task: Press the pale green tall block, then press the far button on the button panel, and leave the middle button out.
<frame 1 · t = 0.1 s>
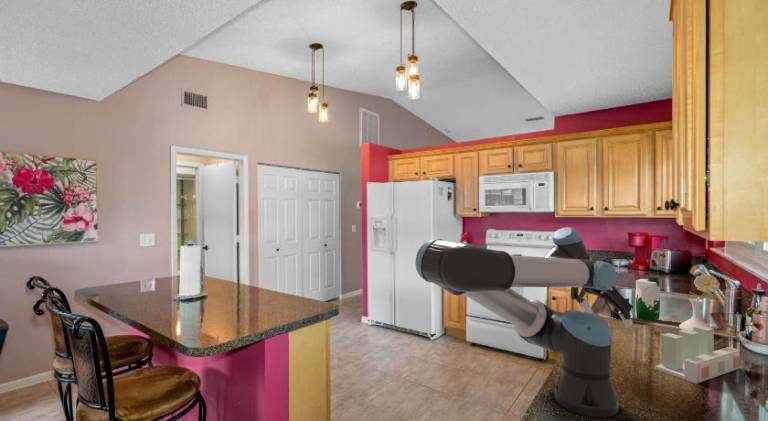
hand: (609, 319, 126), 15 cm above the counter, tool tilted 35°, fingers open, 13 cm apart
pattern card: (720, 376, 118), on the counter
button panel: (713, 373, 120), on the counter
middle button: (688, 346, 126), point 6 cm above the counter, slide at 0.0 cm
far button: (703, 342, 129), point 6 cm above the counter, slide at 0.0 cm
milk carton: (647, 319, 178), on the counter
pale green tall block: (672, 351, 122), point 6 cm above the counter, slide at 0.0 cm
flower in vase: (698, 334, 157), on the counter
coffee mug: (617, 317, 182), on the counter
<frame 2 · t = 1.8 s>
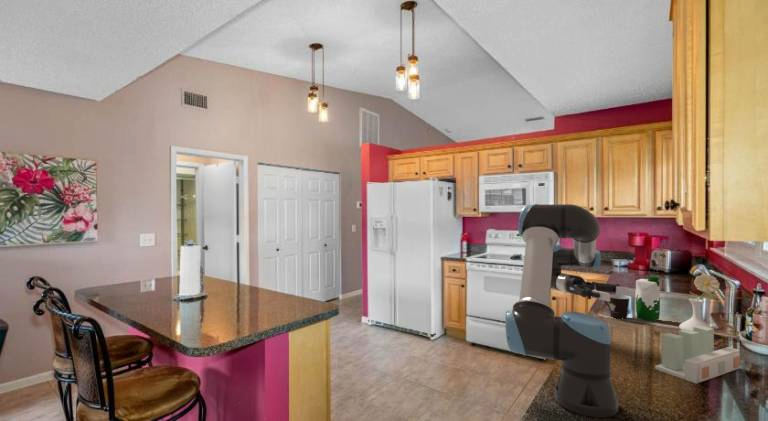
hand: (622, 295, 137), 21 cm above the counter, tool horizontal, fingers open, 13 cm apart
nothing on the counter moved.
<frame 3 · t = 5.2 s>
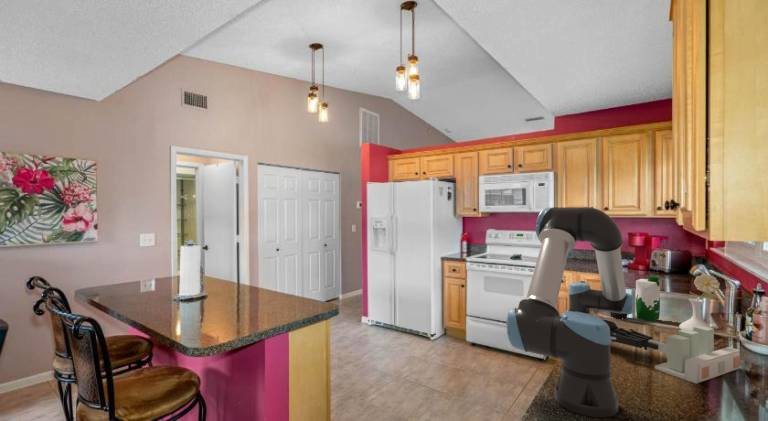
hand: (670, 350, 123), 6 cm above the counter, tool horizontal, fingers closed
pale green tall block: (678, 352, 120), point 6 cm above the counter, slide at 1.7 cm, touching gripper
everything else where it was.
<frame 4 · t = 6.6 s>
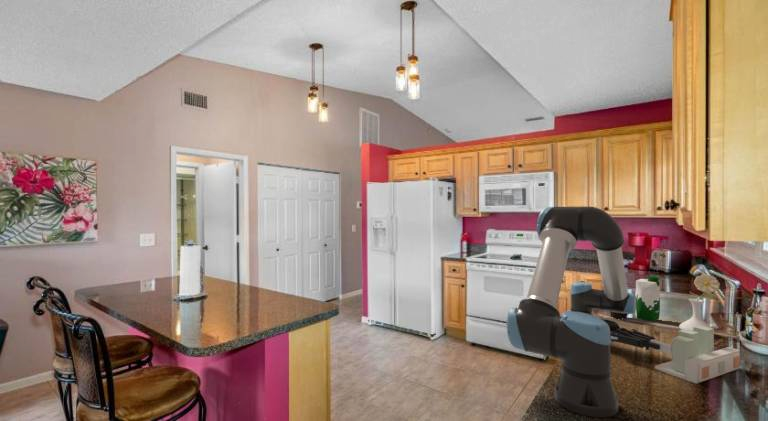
hand: (672, 350, 122), 7 cm above the counter, tool horizontal, fingers closed
pale green tall block: (683, 354, 119), point 6 cm above the counter, slide at 3.1 cm
everything else where it was.
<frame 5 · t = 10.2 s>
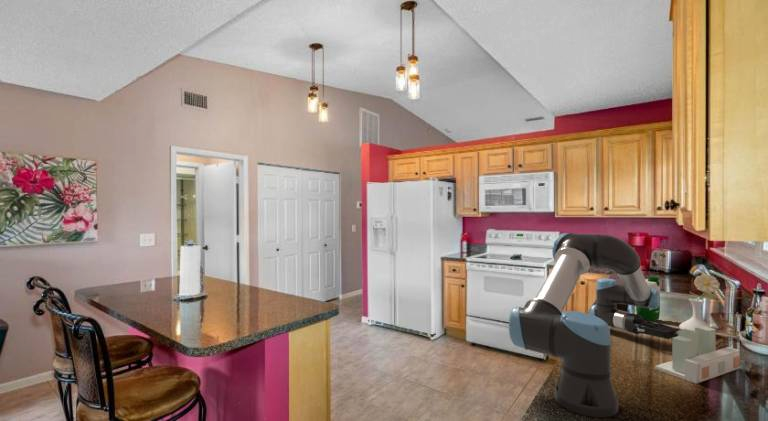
hand: (697, 340, 131), 6 cm above the counter, tool horizontal, fingers closed
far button: (705, 343, 129), point 6 cm above the counter, slide at 0.5 cm, touching gripper
everything else where it was.
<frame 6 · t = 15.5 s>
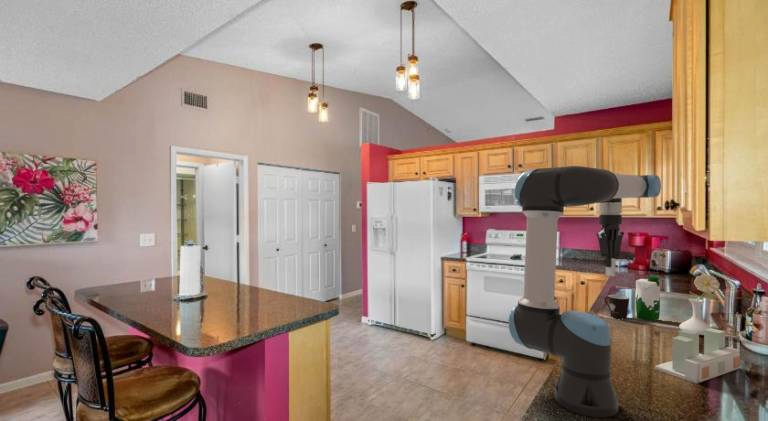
hand: (610, 275, 146), 26 cm above the counter, tool pointing down, fingers closed
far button: (714, 345, 127), point 6 cm above the counter, slide at 3.1 cm
everything else where it was.
at the end: pale green tall block slide at 3.1 cm; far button slide at 3.1 cm; middle button slide at 0.0 cm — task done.
